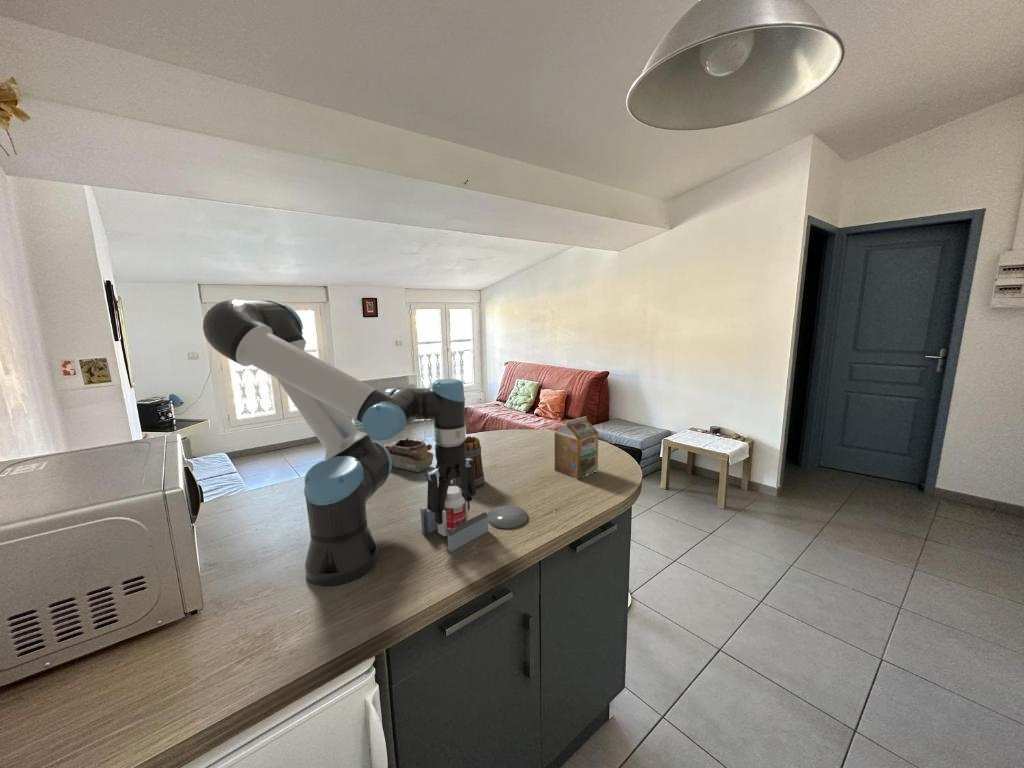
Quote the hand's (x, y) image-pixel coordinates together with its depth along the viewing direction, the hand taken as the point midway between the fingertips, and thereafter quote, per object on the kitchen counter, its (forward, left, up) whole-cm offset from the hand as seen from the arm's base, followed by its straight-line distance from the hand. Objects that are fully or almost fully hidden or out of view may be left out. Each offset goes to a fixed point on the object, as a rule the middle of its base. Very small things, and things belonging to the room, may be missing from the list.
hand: (453, 528), depth 101 cm
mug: (+20, +22, -1) cm, 30 cm away
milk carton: (+53, -1, -1) cm, 53 cm away
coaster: (+14, -5, -1) cm, 15 cm away
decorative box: (+15, +48, -1) cm, 51 cm away
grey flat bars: (0, 0, -1) cm, 1 cm away
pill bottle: (0, 0, -1) cm, 1 cm away
